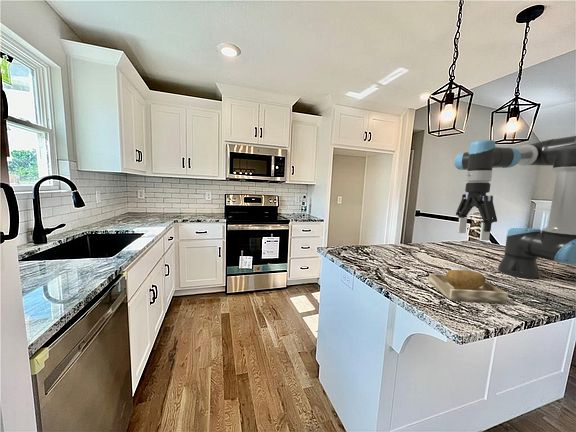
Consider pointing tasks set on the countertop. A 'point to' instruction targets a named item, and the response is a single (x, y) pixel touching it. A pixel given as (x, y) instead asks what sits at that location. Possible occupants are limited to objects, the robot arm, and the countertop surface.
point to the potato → (465, 279)
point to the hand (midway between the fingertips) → (472, 236)
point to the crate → (468, 291)
